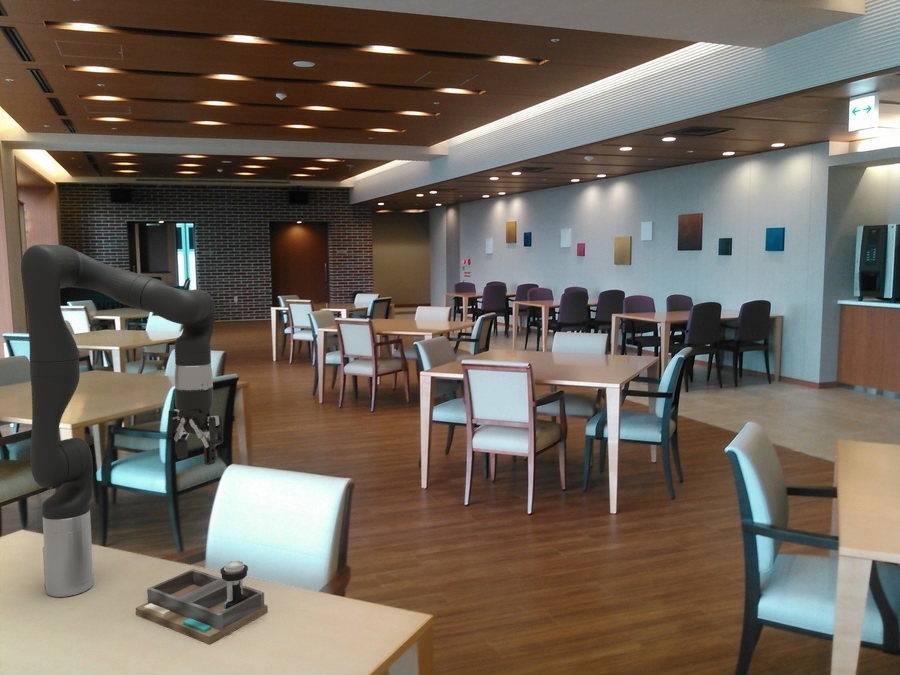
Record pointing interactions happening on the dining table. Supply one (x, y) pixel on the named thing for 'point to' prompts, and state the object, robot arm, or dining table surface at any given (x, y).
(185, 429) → the robot arm
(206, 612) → the dock
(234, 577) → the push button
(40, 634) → the dining table surface
